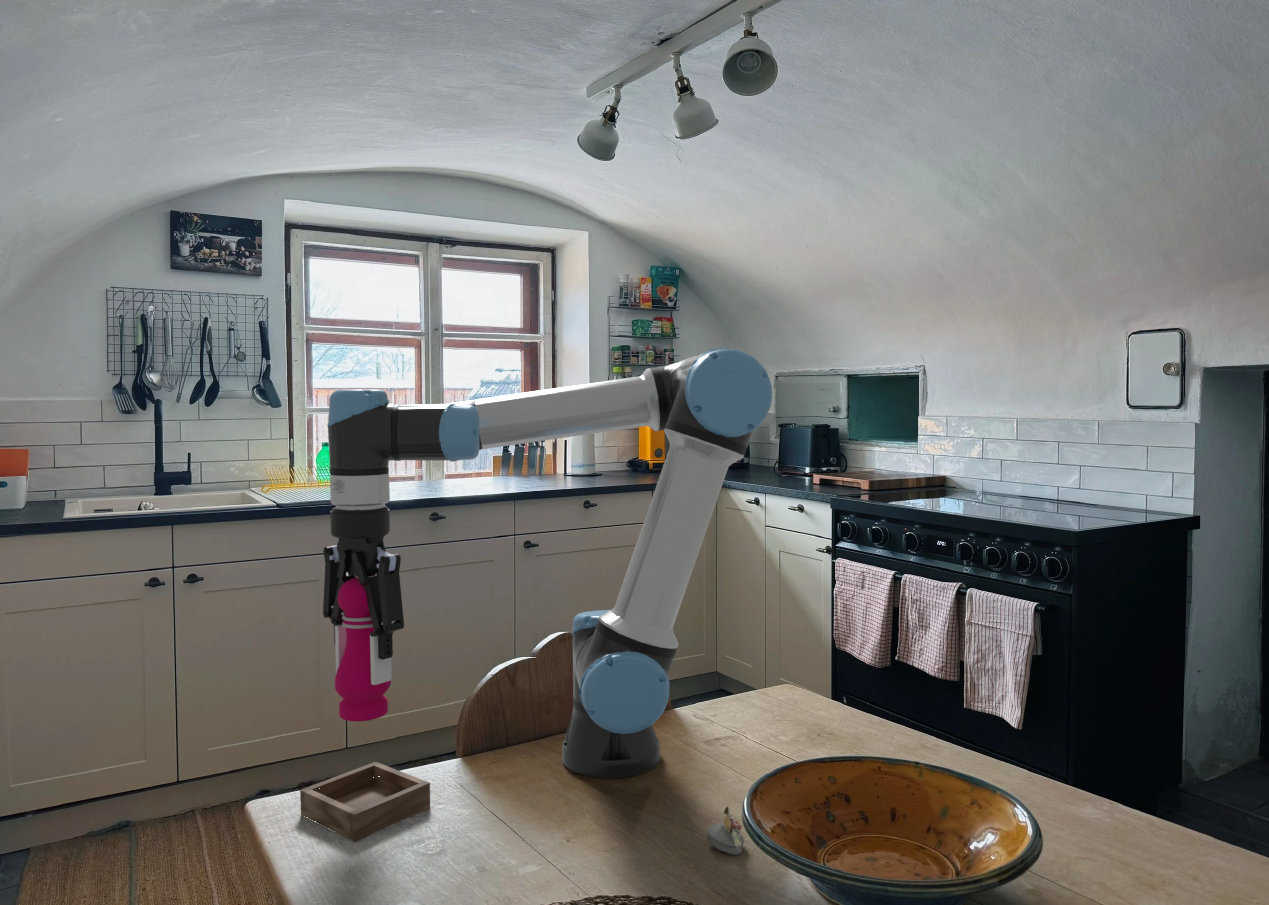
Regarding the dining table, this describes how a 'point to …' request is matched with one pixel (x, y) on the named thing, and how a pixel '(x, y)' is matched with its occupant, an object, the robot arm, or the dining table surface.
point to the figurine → (726, 835)
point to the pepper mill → (358, 659)
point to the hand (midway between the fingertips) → (363, 676)
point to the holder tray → (365, 800)
